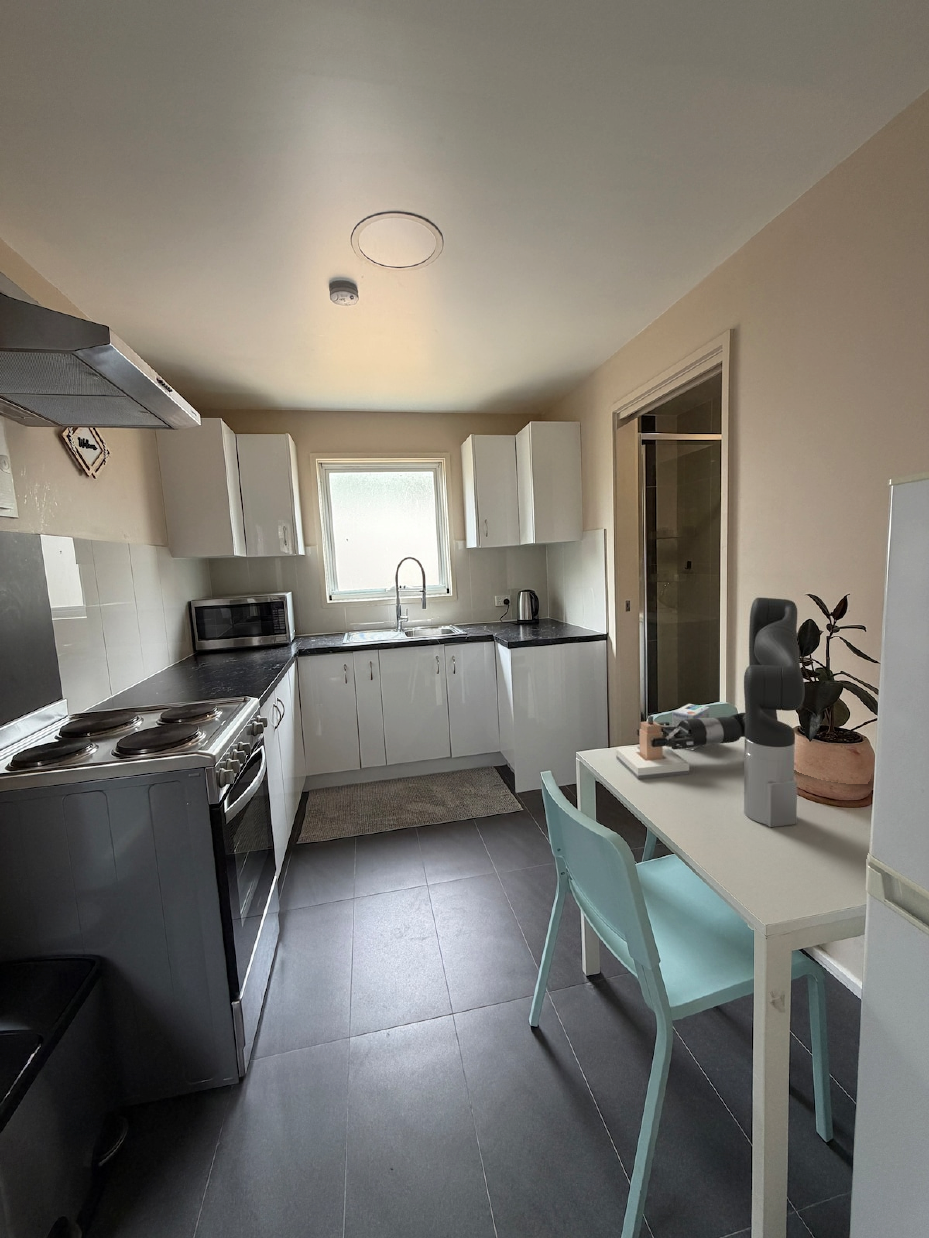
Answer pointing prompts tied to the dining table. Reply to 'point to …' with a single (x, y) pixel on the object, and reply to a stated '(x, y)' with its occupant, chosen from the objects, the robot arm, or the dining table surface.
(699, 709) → the light bulb box
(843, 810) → the dining table surface
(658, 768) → the socket plate
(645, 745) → the plug
